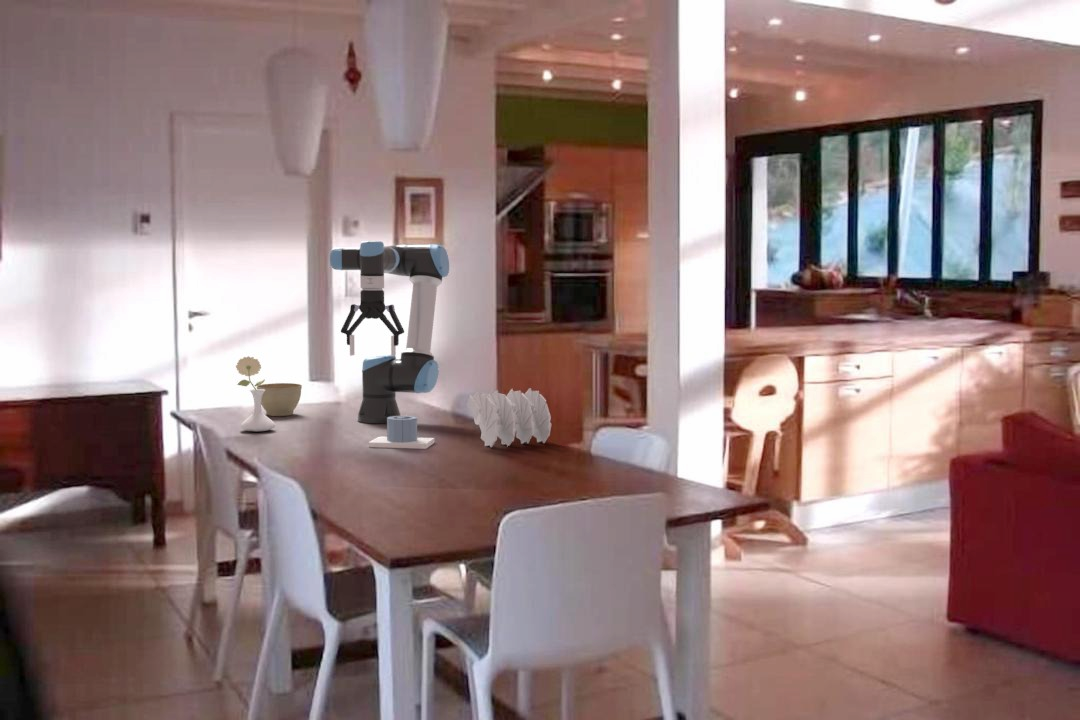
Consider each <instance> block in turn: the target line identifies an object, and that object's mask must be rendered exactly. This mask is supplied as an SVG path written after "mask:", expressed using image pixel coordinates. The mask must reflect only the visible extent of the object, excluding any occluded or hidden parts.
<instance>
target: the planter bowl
mask: <svg viewBox="0 0 1080 720" xmlns="http://www.w3.org/2000/svg"><path fill="white" fill-rule="evenodd" d="M302 388H303V385H302V384H300V383H295V382H294V383H292V382H287V383H286V382H276V383H265V384H264V383H262V384H261V385H258V386H256V389H264V390H265V391H264V393H263V395H262V400H261V408H263V409H264V410H265V412H266V416H271V417H285V416H291V415H293V414H294V411H295V410H296V408H297V407H298V404H299V402H300V399H301V395H302Z"/></svg>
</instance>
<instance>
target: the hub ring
mask: <svg viewBox="0 0 1080 720" xmlns="http://www.w3.org/2000/svg"><path fill="white" fill-rule="evenodd" d="M398 417H407V419H397V418H398ZM386 437H387V440H388V441H390V442H413V441H416V440H417V438H418V417H417V416H412V415H401V416H392V417H388V418H387V423H386Z"/></svg>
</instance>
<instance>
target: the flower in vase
mask: <svg viewBox="0 0 1080 720" xmlns="http://www.w3.org/2000/svg"><path fill="white" fill-rule="evenodd" d="M235 368H236V371H237V372H238V373H239V374H240V375H241V376H244V377H248V380H247V379H242V380H240V381H239V382H238V383H237V385H236V386H242V387H247V386H249V385H251V386H252V387H253V389H250V390H249V392H250V393H251V395H252V397H253V403H254V404H253V407H254V409H253V412H252V413H251V414H250V415H249V416H248V417H247V418H245V420H243V421H242V422H241V424H240V428H241V429H242V430H244V431H246V432H257V433H258V432H266V431H270V430H273V429H275V427H276V423H275V422H274V421H273V420H272V419H270V418H269V417H268V415H267V414H264V412H263V411H262V405H261V400H262V395H263V393H264V391H265V390H264V389H257V386H258V385H262V384H264V382H265V380H266V378H264V379H263V380H260V381H257V382H256V383H255V385H254V384H253V382H252V381H251V378H250V377H251V376H256V375H258V374H259V372H260V371H261V369H262V366H261V363H260V361H259V360H258V358H254V356H243V358H240V359H239V360H238V361H237V363H236V365H235Z"/></svg>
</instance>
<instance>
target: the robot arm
mask: <svg viewBox="0 0 1080 720" xmlns="http://www.w3.org/2000/svg"><path fill="white" fill-rule="evenodd" d="M359 246H360V247H354V246H353V247H351V246H349V247H347V246H343V247H342V246H341V247H334V248H332V249H331V250H330V253H329V264H330V266H331V268H332V269H333V270H336V271H359V272H360V275H359V276H360V278H359V279H360V283H359V284H360V288H361V290H360V291H359V292H360V293H359V295H360V305H359V304H355V303H354V304H353V303H352V304H351V305H350V308H349V310H350V311H349V313H348V314H347V317H346V319H345V321H344V323H343V325H342V327H341V329H340V333H341V334H345V335H346V345H347V346H349V356H350V357H351V356H355V334H353V333H354V332H355V330H357V328H358V327H359V326H360V325H361V323H362V322H363V321H364V319H376V320H377V319H380V320H381V322H383V325H385V326H386V327H387V329H388V330H389V331H390V332H391V334H392V335H390V347H391V348H390V351H391V352H390V353H391V354H388V355H387V354H386V355H379V356H371V357H367V358H365V359H363V361H362V368H361V369H362V370H361V373H362V377H361V378H362V400H361V403H360V405H359V406H360V407H359V410H358V413H357V421H358V422H359V423H364V424H387V418H388V417H392V416H402V415H401V412H400V408H399V405H398V403H397V400H396V396H397V395H396V394H397V393H409V394H410V393H411V394H422V393H423V394H427V393H430V392H432V390H433V389H434V388H435V386H436V384H437V382H438V379H439V370H440V369H439V364H438V362H437V360H435V356H434V354H433V353H432V351H431V347H432V338H433V329H434V328H433V327H434V319H435V311H436V301H437V289H438V287H439V286H440V285H442V282H443V278H446V277H448V276H449V272H450V259H449V255H448V252H447V250H446V248H445V247H444V246H443V245H441V244H433V243H422V244H421V243H402V244H401V243H400V244H395V245H386V246H385V245H384V242H383V241H380V240H379V241H378V240H374V241H373V240H369V241H365V240H363V241H361V242H360V245H359ZM385 274H388V275H396V276H401V277H409V281H410V282H411V283H412V293H411V301H410V302H411V303H410V308H409V309H410V310H409V320H408V328H407V336H406V337H407V339H406V347H405V349H404V350H403V351H402V352H401V354H400V358H399V359H397V356H396V353H397V352H396V347H397V346H399V340H400V339H399V336H400V335H402V334H404V333H405V329H404V327H403V326H402V323H401V321H400V319H399V318H398V315H397V313H396V311H395V305H394V304H389V305H385V290H383V289H385ZM385 310H386V311H387V312H388V313H389V315H390V317H391V319H392V321H393V323H394V325H395V327H394V325H393V324H392V323H391V321H390V320H389V318H388V317H387V316H386V315H385V313H384V312H385ZM358 311H360V312H361V314H360V315H359V316H358V318H357V319H356V320H355V321H354V322H353V324H351V323H352V321H353V319H354V316H355V314H356V312H358ZM350 325H351V326H350Z"/></svg>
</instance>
